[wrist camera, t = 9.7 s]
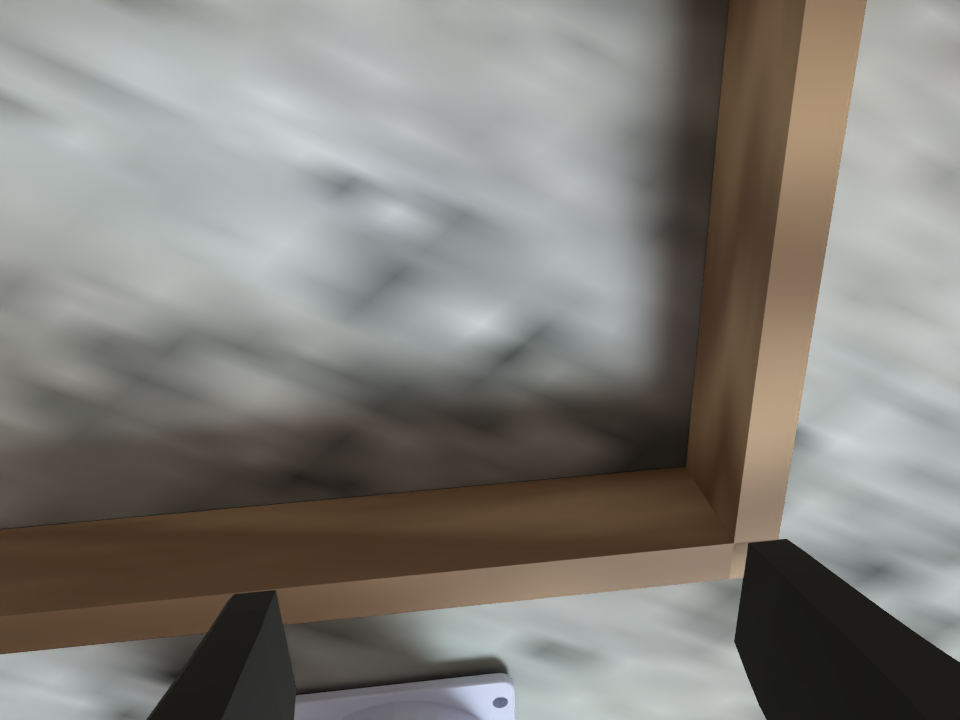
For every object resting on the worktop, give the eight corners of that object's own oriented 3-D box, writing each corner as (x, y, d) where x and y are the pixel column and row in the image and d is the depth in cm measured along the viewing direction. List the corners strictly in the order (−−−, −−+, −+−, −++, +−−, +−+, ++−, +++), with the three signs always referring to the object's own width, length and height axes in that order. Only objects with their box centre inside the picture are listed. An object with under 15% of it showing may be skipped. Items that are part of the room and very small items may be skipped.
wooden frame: (720, 495, 23) (772, 574, 20) (-5, 564, 22) (-75, 662, 19) (800, -181, 16) (904, -229, 13) (-296, -151, 14) (-498, -197, 11)
